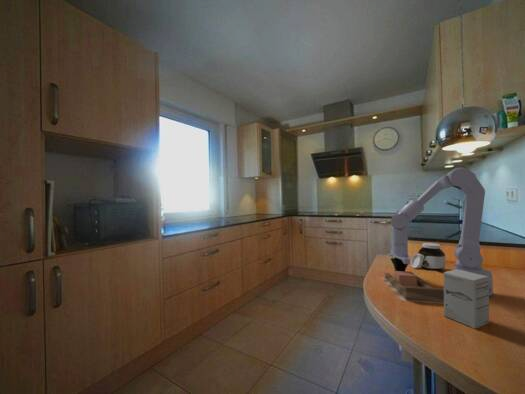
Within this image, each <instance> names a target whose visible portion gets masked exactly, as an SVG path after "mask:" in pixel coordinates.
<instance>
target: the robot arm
mask: <svg viewBox="0 0 525 394" xmlns="http://www.w3.org/2000/svg"><path fill="white" fill-rule="evenodd" d="M452 187H453V188H456V189H457V190H459V191H460V192H462V193H463V194H464V195H465V201H464V208H463V217H462V225H461V235H460V238H459V241H458V245H457V247H455V249H454V251H453V252H454V257H455V258H456V259H457V260H456V261H455V262H454V270H455V269H459V270H463V271H467V272H471V273H475V274H479V275H484V276H488V277H489V297H490V296H493V295H495V293H494V287H493V285H494V283H493V282H494V280H493V274H492V272H491V271H490V270H489V269H488V270H487V269H485V268H483V266H482V264H483V262H484V258H483V256H482V254H481V244H480V237H481V236H480V235H481V229H482V228H481V227H482V220H483V219H482V218H483V212H484V204H485V196H486V190H485V188H484V186H483V185H482V183H481V182H480V180H479V179H478V178H477V176H476V173H474V172H473V171H471V170H470V169H468V168H465V167H462V166H461V167H460V166H459V167H455V168H453V169H452V170H450V171H449V172H447V173H446V174H444V175H443V176H441V177H440V178H439V179H437V180H436V181H434V183H432V184H431V185H430V186H429V187H428V188H427V189H426V190H425V191H424V192H423V193H422V194H421V195H420V196H419V197H417V199H410V200H409V201H405V203H404V204H405V205H404V206H402V207H401V208H400V209H399V210H397V211H396V214H394V215H392V217H391V219H390V225H391V232H390V235H391V238H390V239H391V242H390V243H391V250H390V253H388V256H389V257H391V258H390V260H391V262H392V264H393V267H394V271H406V269H407V268H408V265H411V264H410V261H411V258H410V257H409V247H408V246H409V245H408V241H409V238H408V231H407V226H408V223H409V222H412V221H413V220H414V219H415V218H416V217H417V216H419V215H420V214H422V212H424V210H425V206H424V205H426V204H427V203H428V202H429V201H430V200H431V199H432V198H434V197H435V196H436V195H438V194H439V192H441V191H442V190H446V189H449V188H452Z"/></svg>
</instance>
